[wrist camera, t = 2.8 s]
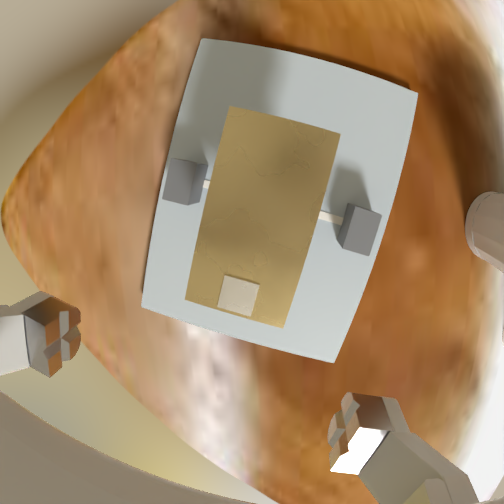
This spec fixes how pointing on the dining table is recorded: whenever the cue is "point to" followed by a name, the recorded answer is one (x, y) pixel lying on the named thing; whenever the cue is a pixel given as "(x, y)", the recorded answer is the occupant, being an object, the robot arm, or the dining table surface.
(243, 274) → the tan parcel with label
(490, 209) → the cup
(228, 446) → the dining table surface
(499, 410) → the dining table surface
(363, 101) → the base
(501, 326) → the dining table surface
